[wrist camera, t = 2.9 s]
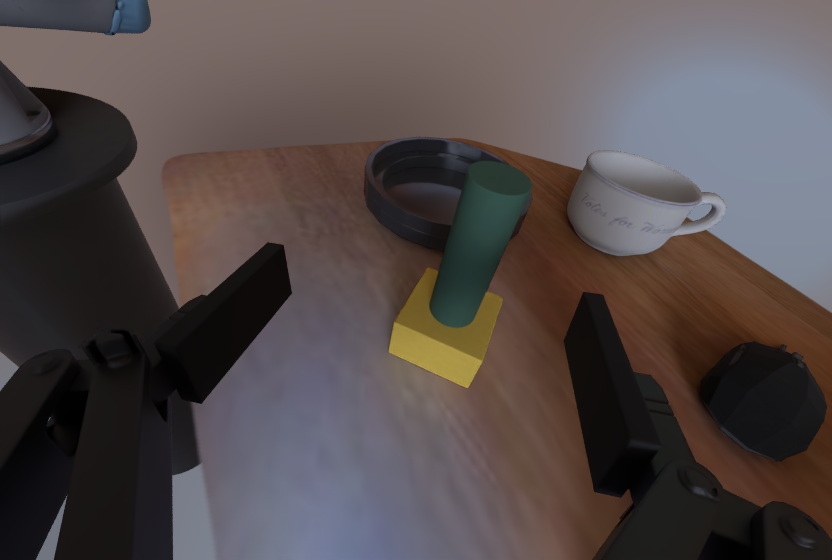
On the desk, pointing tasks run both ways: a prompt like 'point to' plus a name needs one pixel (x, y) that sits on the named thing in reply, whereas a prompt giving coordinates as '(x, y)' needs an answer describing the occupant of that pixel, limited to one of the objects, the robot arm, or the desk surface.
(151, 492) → the robot arm
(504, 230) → the green peg on stand
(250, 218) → the desk surface
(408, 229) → the bowl
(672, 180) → the teacup
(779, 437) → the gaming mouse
